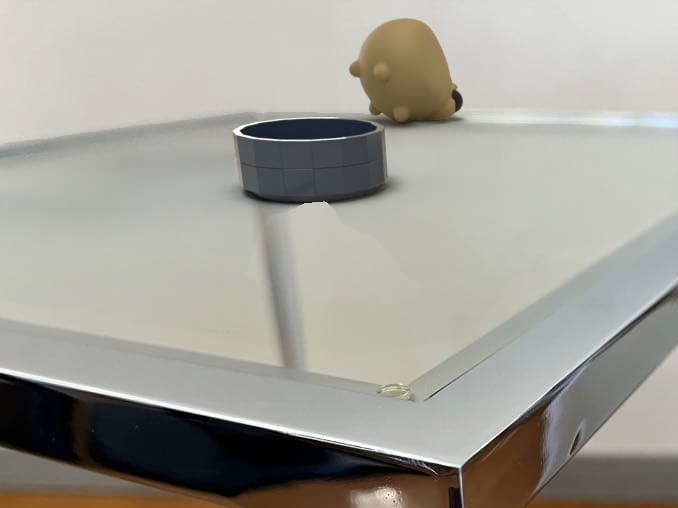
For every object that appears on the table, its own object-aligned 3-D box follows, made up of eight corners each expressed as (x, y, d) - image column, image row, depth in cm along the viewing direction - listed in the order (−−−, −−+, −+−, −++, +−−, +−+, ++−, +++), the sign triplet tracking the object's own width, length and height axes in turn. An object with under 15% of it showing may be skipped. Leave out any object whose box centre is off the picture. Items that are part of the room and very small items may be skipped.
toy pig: (437, 159, 100) (495, 86, 101) (369, 78, 91) (433, 0, 92) (390, 143, 106) (444, 75, 108) (321, 67, 98) (382, -7, 99)
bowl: (211, 197, 68) (201, 134, 66) (295, 169, 77) (289, 114, 75) (339, 210, 64) (333, 145, 62) (411, 179, 74) (408, 122, 72)
